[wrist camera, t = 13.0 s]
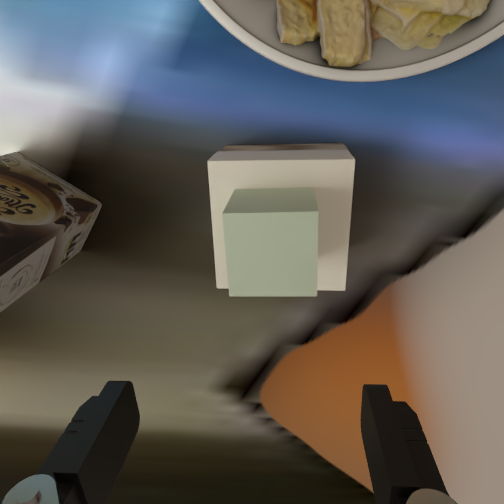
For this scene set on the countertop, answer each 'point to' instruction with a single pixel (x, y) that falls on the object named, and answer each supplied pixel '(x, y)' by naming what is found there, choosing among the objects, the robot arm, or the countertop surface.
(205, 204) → the countertop surface
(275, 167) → the tower top
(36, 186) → the coffee box
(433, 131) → the countertop surface
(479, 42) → the bowl
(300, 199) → the sage cube
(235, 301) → the countertop surface
